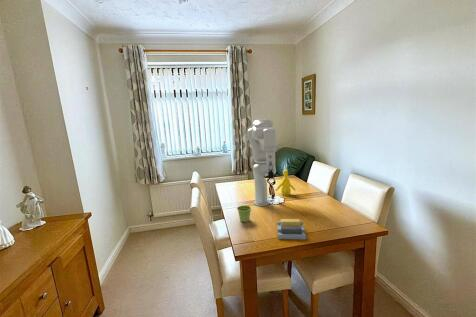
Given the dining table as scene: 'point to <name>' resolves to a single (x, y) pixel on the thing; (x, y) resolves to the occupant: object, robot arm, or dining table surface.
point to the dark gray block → (291, 230)
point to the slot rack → (291, 236)
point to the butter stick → (290, 222)
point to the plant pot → (244, 213)
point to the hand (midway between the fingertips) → (270, 176)
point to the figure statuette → (285, 185)
